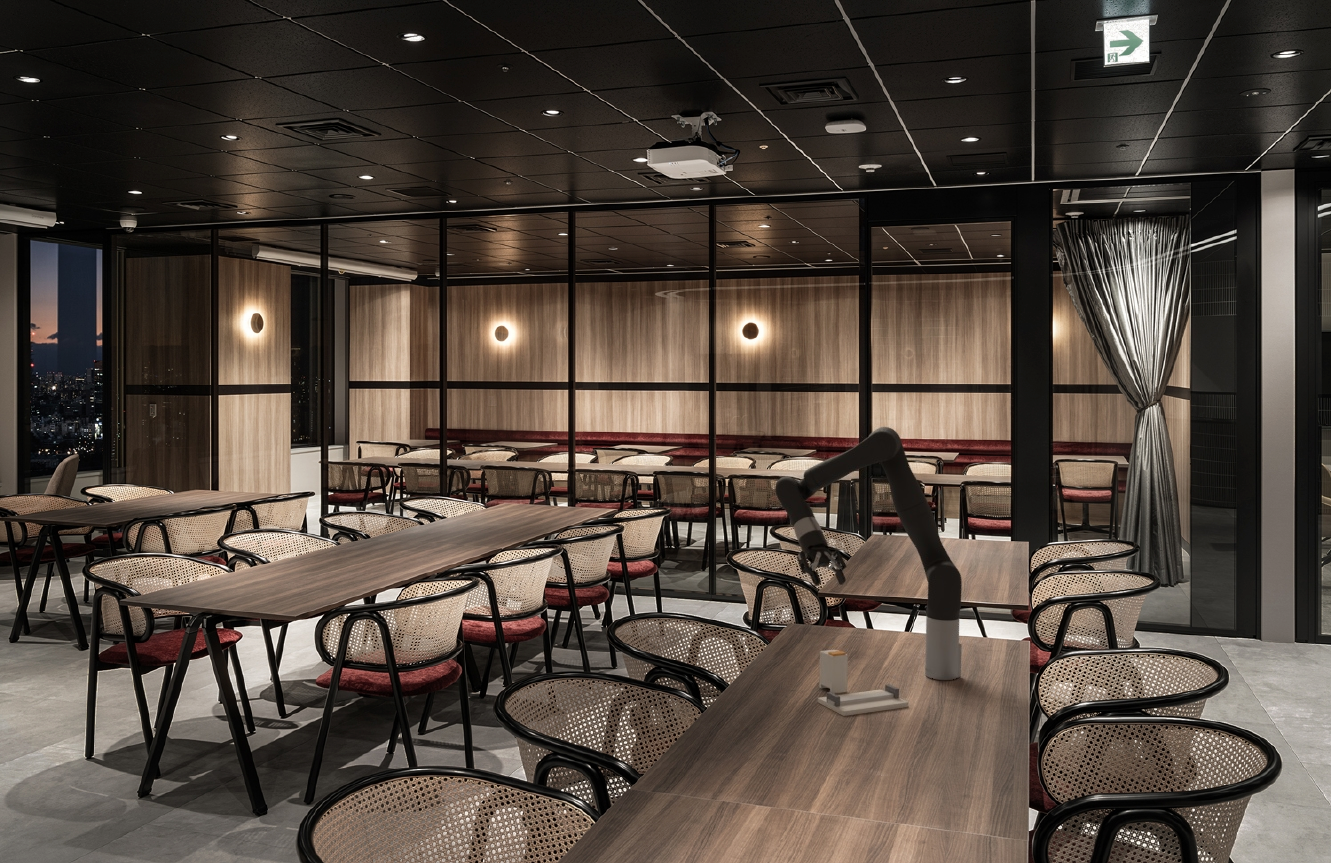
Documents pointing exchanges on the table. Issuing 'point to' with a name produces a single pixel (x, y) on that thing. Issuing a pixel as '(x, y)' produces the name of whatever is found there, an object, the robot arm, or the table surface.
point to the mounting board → (864, 701)
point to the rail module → (833, 670)
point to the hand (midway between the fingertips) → (830, 583)
